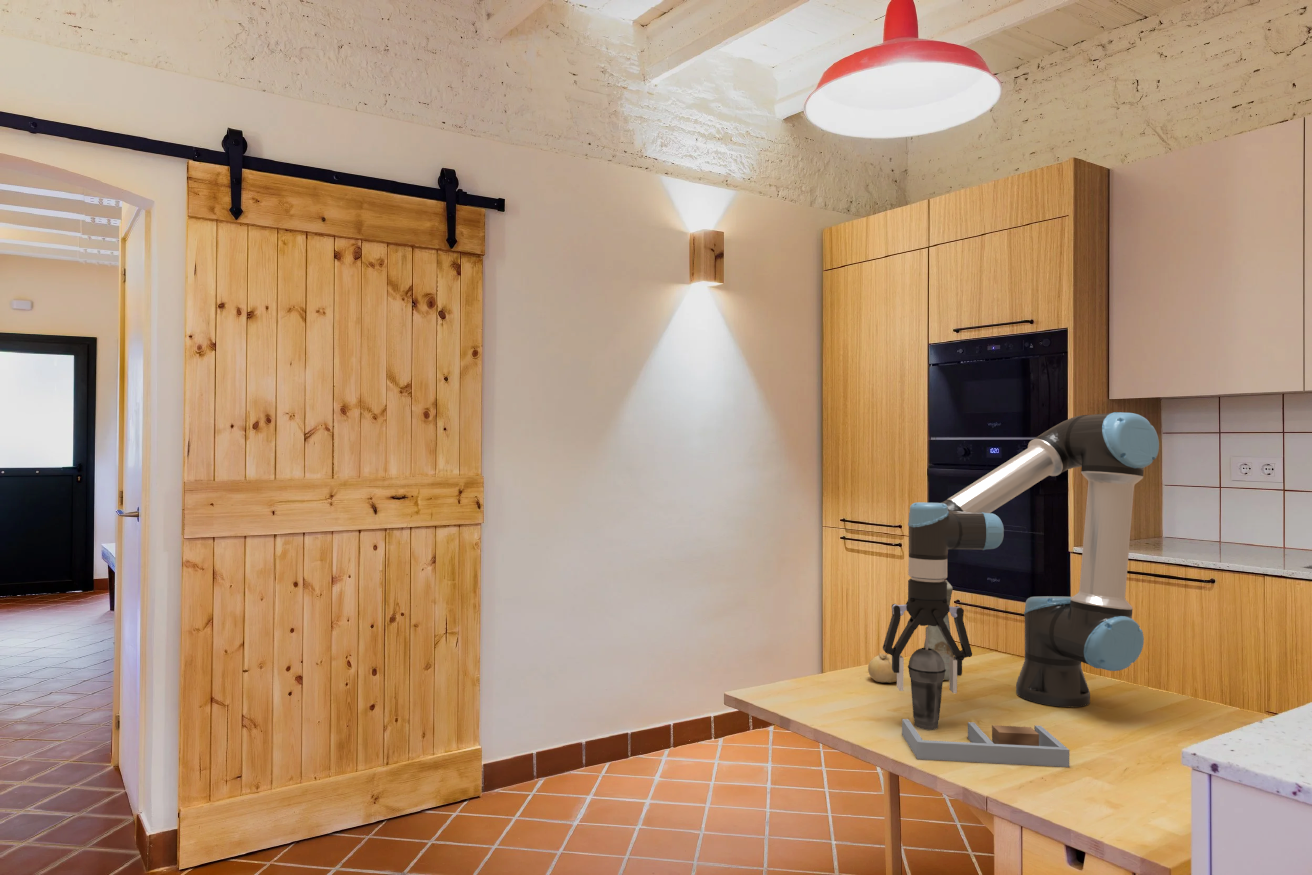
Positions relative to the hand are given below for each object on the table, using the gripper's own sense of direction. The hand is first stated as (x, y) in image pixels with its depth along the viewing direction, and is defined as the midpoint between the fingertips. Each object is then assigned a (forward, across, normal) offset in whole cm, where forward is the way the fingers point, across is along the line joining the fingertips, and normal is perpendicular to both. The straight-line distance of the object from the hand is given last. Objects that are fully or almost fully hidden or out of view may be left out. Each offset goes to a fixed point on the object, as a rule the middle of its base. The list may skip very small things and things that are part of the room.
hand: (926, 689), depth 162 cm
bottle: (+7, -12, -39) cm, 41 cm away
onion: (+7, +2, -33) cm, 34 cm away
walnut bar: (+7, -13, +12) cm, 19 cm away
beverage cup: (+7, 0, 0) cm, 7 cm away
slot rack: (+7, -7, +12) cm, 16 cm away
